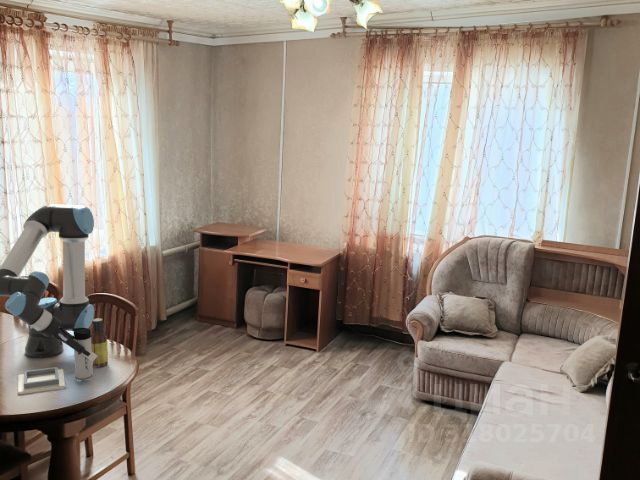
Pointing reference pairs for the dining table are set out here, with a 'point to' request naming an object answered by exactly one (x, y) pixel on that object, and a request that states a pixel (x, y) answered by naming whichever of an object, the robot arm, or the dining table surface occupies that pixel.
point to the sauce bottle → (99, 343)
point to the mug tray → (40, 380)
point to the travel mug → (81, 362)
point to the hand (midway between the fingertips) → (92, 355)
